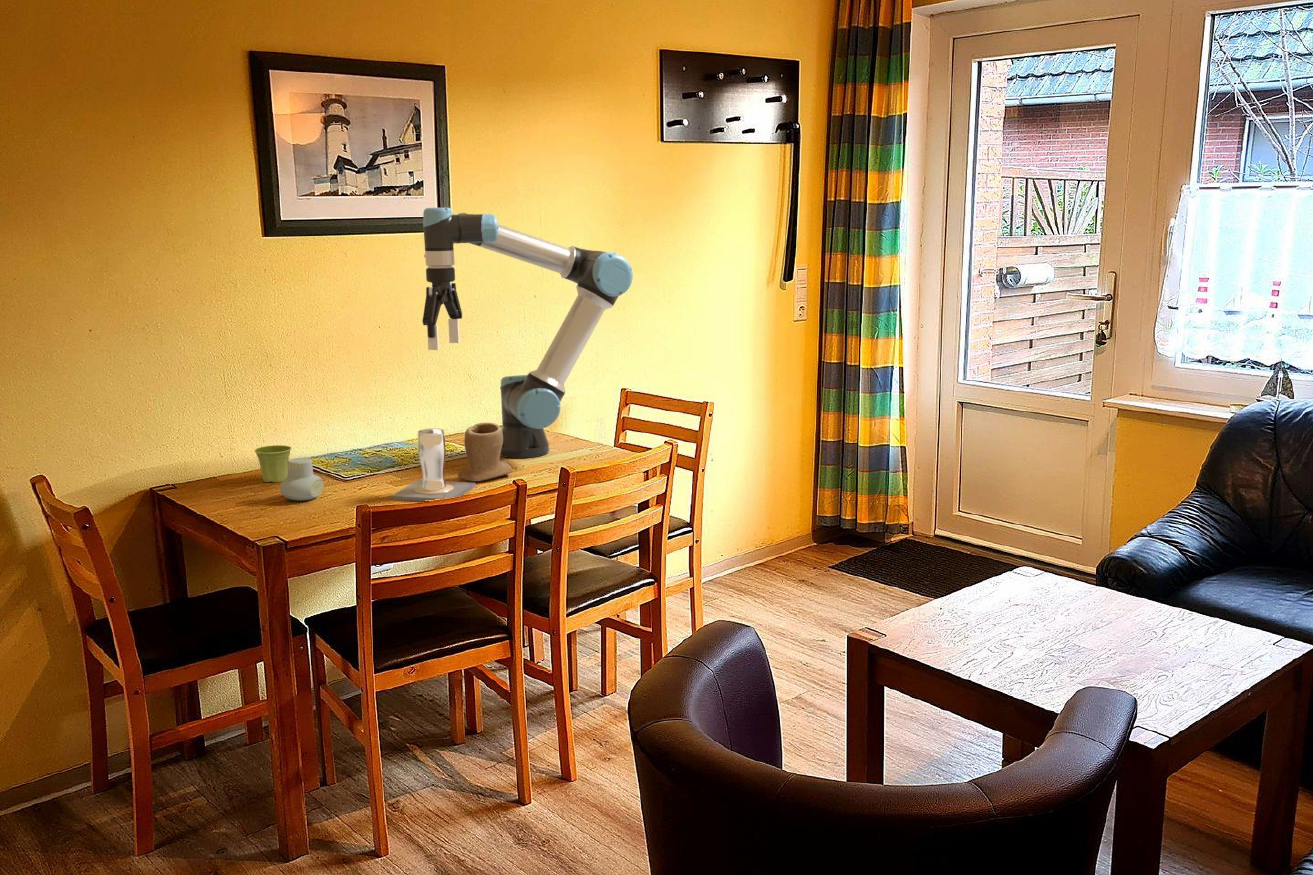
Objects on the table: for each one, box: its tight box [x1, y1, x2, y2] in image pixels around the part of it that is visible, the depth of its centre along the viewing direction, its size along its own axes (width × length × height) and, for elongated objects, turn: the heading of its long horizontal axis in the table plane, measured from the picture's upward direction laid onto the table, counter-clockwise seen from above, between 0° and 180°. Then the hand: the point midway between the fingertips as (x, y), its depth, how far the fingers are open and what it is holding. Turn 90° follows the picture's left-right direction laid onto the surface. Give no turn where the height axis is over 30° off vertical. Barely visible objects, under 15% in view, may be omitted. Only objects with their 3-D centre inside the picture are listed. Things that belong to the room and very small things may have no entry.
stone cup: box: [457, 422, 514, 482], centre depth 302 cm, size 15×12×15 cm
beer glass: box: [417, 427, 447, 491], centre depth 288 cm, size 7×7×15 cm
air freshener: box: [279, 457, 325, 502], centre depth 285 cm, size 11×8×10 cm
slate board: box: [390, 479, 476, 502], centre depth 289 cm, size 16×16×1 cm
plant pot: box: [254, 444, 293, 483], centre depth 303 cm, size 9×9×9 cm
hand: (444, 346), depth 304 cm, fingers open, 13 cm apart
